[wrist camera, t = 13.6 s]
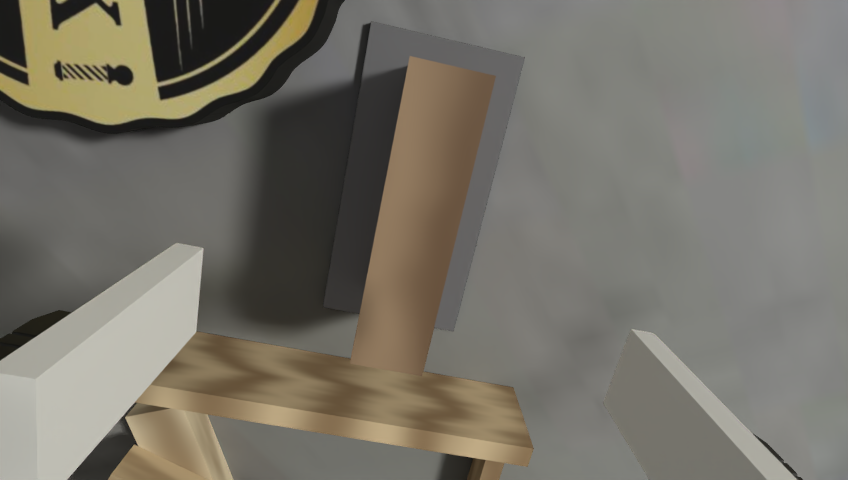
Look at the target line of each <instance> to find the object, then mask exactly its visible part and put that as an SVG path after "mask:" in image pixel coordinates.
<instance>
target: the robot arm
mask: <svg viewBox="0 0 848 480" xmlns="http://www.w3.org/2000/svg"><path fill="white" fill-rule="evenodd" d="M202 259H203V248H201V247H195V246H190V245H185V244H180V243H176V244H174V245H173V246H171V247H170V248H168V249H167V250H165V251H164V252H162V253H161V254H159V255H158V256H156V257H155V258H153V259H152V260H150V261H149V262H147V263H146V264H144V265H143V266H141V267H140V268H138V269H137V270H135V271H134V272H132V273H131V274H129V275H128V276H126V277H125V278H123V279H122V280H120V281H119V282H117V283H116V284H114V285H113V286H111V287H110V288H108V289H107V290H105V291H104V292H102V293H101V294H99V295H98V296H96V297H95V298H93V299H92V300H90V301H89V302H87V303H86V304H84V305H83V306H81V307H80V308H78V309H77V310H75V311H74V312H66V311H60V310H58V311H55V312H52V313H49V314H46V315H43V316H40V317H37V318H34V319H32V320H30V321H29V322H27V323H25V324H24V325H22V326H20V327H19V328H17V329H16V330H14V331H13V333H12V334H7V335H6V336H4V337H3V338H1V339H0V480H67V479H68V478H69V477H70V476H71V475H72V473H73V472H74V471H75V470H76V469H77V468H78V467H79V465H80V464H81V463H82V462H83V461H84V460H85V459H86V457H87V456H88V455H89V454H90V453H91V452H92V451H93V449H94V448H95V447H96V446H97V445H98V444H99V443H100V441H101V440H102V439H103V438H104V437H105V436H106V435H107V433H108V432H109V431H110V430H111V429H112V428H113V427H114V425H115V424H116V423H117V422H118V421H119V420H120V419H121V417H122V416H123V415H124V414H125V413H126V412H127V411H128V409H129V408H130V407H131V406H132V405H133V404H134V403H135V401H136V400H137V399H138V398H139V397H140V396H141V395H142V393H143V392H144V391H145V390H146V389H147V388H148V387H149V385H150V384H151V383H152V382H153V381H154V380H155V379H156V377H157V376H158V375H159V374H160V373H161V372H162V371H163V369H164V368H165V367H166V366H167V365H168V364H169V363H170V361H171V360H172V359H173V358H174V357H175V356H176V355H177V353H178V352H179V351H180V350H181V349H182V348H183V347H184V345H185V344H186V343H187V342H188V341H189V340H190V339H191V337H192V336H193V335H194V334H195V333H196V329H197V317H198V306H199V294H200V283H201V271H202ZM603 404H604V405H605V407H606V409H607V410H608V412H609V414H610V415H611V417H612V419H613V420H614V422H615V424H616V425H617V427H618V429H619V430H620V432H621V434H622V435H623V437H624V438H625V440H626V442H627V443H628V445H629V447H630V448H631V450H632V452H633V453H634V455H635V457H636V458H637V460H638V462H639V463H640V465H641V467H642V468H643V470H644V472H645V473H646V475H647V477H648V478H649V480H803V479H802V478H801V477H797V473H796V472H795V471H794V470H793V469H792V468H791V467H790V466H789V465H788V464H787V463H784V460H783V459H782V458H781V457H780V456H779V455H778V454H777V453H776V452H775V451H774V450H773V449H772V448H771V447H770V446H769V445H768V444H767V443H766V442H764V441H763V440H761V439H760V438H759V437H757V436H756V435H754V434H753V433H752V432H750V431H749V430H748V429H747V428H746V427H745V426H744V425H743V424H742V423H741V422H740V421H739V420H738V419H737V418H736V416H735V415H734V414H733V413H732V412H731V411H730V410H729V409H728V408H727V407H726V406H725V405H724V404H723V403H722V402H721V401H720V400H719V399H718V398H717V397H716V396H715V395H714V394H713V393H712V392H711V391H710V390H709V389H708V388H707V387H706V386H705V385H704V384H703V383H702V382H701V381H700V380H699V379H698V378H697V377H696V376H695V375H694V374H693V373H692V372H691V371H690V370H689V368H688V367H687V366H686V365H685V364H684V363H683V362H682V361H681V360H680V359H679V358H678V357H677V356H676V355H675V354H674V353H673V352H672V351H671V350H670V349H669V348H668V347H667V346H666V345H665V344H664V343H663V342H662V341H661V340H660V339H659V338H658V337H657V336H656V335H655V334H654V333H650V332H645V331H639V330H634V329H631V330H630V333H629V336H628V338H627V341H626V344H625V346H624V349H623V352H622V354H621V357H620V359H619V362H618V365H617V367H616V370H615V373H614V375H613V378H612V381H611V383H610V386H609V389H608V391H607V394H606V397H605V399H604V402H603Z"/></svg>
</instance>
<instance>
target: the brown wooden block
mask: <svg viewBox="0 0 848 480" xmlns="http://www.w3.org/2000/svg"><path fill="white" fill-rule="evenodd" d="M495 78H496V76H494V75H490V74H486V73H481V72H477V71H473V70H468V69H464V68H460V67H455V66H451V65H447V64H442V63H438V62H434V61H429V60H425V59H421V58H417V57H412V56H410V58H409V63H408V68H407V73H406V78H405V83H404V88H403V94H402V99H401V104H400V109H399V114H398V119H397V124H396V130H395V135H394V140H393V145H392V150H391V155H390V160H389V165H388V171H387V176H386V181H385V186H384V191H383V196H382V201H381V207H380V212H379V217H378V222H377V227H376V232H375V237H374V242H373V248H372V253H371V258H370V263H369V268H368V273H367V278H366V283H365V289H364V294H363V299H362V304H361V309H360V314H359V319H358V325H357V330H356V335H355V340H354V345H353V350H352V355H351V360H350V364H355V365H360V366H366V367H372V368H377V369H383V370H389V371H394V372H400V373H406V374H411V375H417V376H422V374H423V370H424V366H425V362H426V358H427V354H428V350H429V346H430V342H431V338H432V334H433V330H434V326H435V322H436V318H437V314H438V310H439V306H440V301H441V297H442V293H443V289H444V285H445V281H446V277H447V273H448V269H449V265H450V261H451V257H452V253H453V249H454V245H455V241H456V237H457V232H458V228H459V224H460V220H461V216H462V212H463V208H464V204H465V200H466V196H467V192H468V188H469V184H470V180H471V176H472V172H473V168H474V163H475V159H476V155H477V151H478V147H479V143H480V139H481V135H482V131H483V127H484V123H485V119H486V115H487V111H488V107H489V103H490V99H491V94H492V90H493V86H494V82H495Z"/></svg>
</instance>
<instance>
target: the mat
mask: <svg viewBox="0 0 848 480" xmlns="http://www.w3.org/2000/svg"><path fill="white" fill-rule="evenodd" d="M410 56H412V57H417V58H421V59H425V60H429V61H434V62H438V63H442V64H447V65H451V66H455V67H460V68H464V69H468V70H473V71H477V72H481V73H486V74H490V75H494V76H496V78H495V82H494V86H493V90H492V94H491V99H490V103H489V107H488V111H487V115H486V119H485V123H484V127H483V131H482V135H481V139H480V143H479V147H478V151H477V155H476V159H475V163H474V168H473V172H472V176H471V180H470V184H469V188H468V192H467V196H466V200H465V204H464V208H463V212H462V216H461V220H460V224H459V228H458V232H457V237H456V241H455V245H454V249H453V253H452V257H451V261H450V265H449V269H448V273H447V277H446V281H445V285H444V289H443V293H442V297H441V301H440V306H439V310H438V314H437V318H436V322H435V326H434V328H438V329H443V330H449V331H454V328H455V324H456V320H457V317H458V313H459V309H460V305H461V301H462V297H463V294H464V290H465V286H466V282H467V278H468V274H469V271H470V267H471V263H472V259H473V255H474V251H475V247H476V244H477V240H478V236H479V232H480V228H481V224H482V221H483V217H484V213H485V209H486V205H487V201H488V197H489V194H490V190H491V186H492V182H493V178H494V174H495V171H496V167H497V163H498V159H499V155H500V151H501V148H502V144H503V140H504V136H505V132H506V128H507V124H508V121H509V117H510V113H511V109H512V105H513V101H514V98H515V94H516V90H517V86H518V82H519V78H520V74H521V71H522V67H523V63H524V59H525V57H521V56H517V55H513V54H508V53H504V52H500V51H496V50H491V49H487V48H483V47H479V46H474V45H470V44H466V43H462V42H457V41H453V40H449V39H445V38H441V37H436V36H432V35H428V34H424V33H419V32H415V31H411V30H407V29H402V28H398V27H394V26H390V25H385V24H381V23H377V22H373V21H371V26H370V32H369V38H368V44H367V50H366V56H365V62H364V68H363V74H362V79H361V85H360V91H359V97H358V103H357V109H356V115H355V121H354V127H353V132H352V138H351V144H350V150H349V156H348V162H347V168H346V174H345V180H344V185H343V191H342V197H341V203H340V209H339V215H338V221H337V227H336V233H335V239H334V244H333V250H332V256H331V262H330V268H329V274H328V280H327V286H326V292H325V297H324V303H323V307H325V308H330V309H335V310H341V311H346V312H352V313H357V314H360V309H361V304H362V299H363V294H364V289H365V283H366V278H367V273H368V268H369V263H370V258H371V253H372V248H373V242H374V237H375V232H376V227H377V222H378V217H379V212H380V207H381V201H382V196H383V191H384V186H385V181H386V176H387V171H388V165H389V160H390V155H391V150H392V145H393V140H394V135H395V130H396V124H397V119H398V114H399V109H400V104H401V99H402V94H403V88H404V83H405V78H406V73H407V68H408V63H409V58H410Z"/></svg>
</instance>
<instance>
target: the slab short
mask: <svg viewBox="0 0 848 480" xmlns="http://www.w3.org/2000/svg"><path fill="white" fill-rule="evenodd" d="M108 480H208V479H206V478H203V477H201V476H199V475H197V474H195V473H193V472H191V471H189V470H187V469H185V468H183V467H180V466H178V465H176V464H174V463H172V462H170V461H168V460H166V459H164V458H162V457H160V456H157V455H155V454H153V453H151V452H149V451H147V450H145V449H143V448H141V447H139V446H136V445H133V446H132V448H131V449H130V450H129V452H128V453H127V454H126V456H125V457H124V458H123V459H122V461H121V462H120V463H119V465H118V466H117V467H116V469H115V470H114V471H113V472H112V474H111V475H110V477H109V479H108Z"/></svg>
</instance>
